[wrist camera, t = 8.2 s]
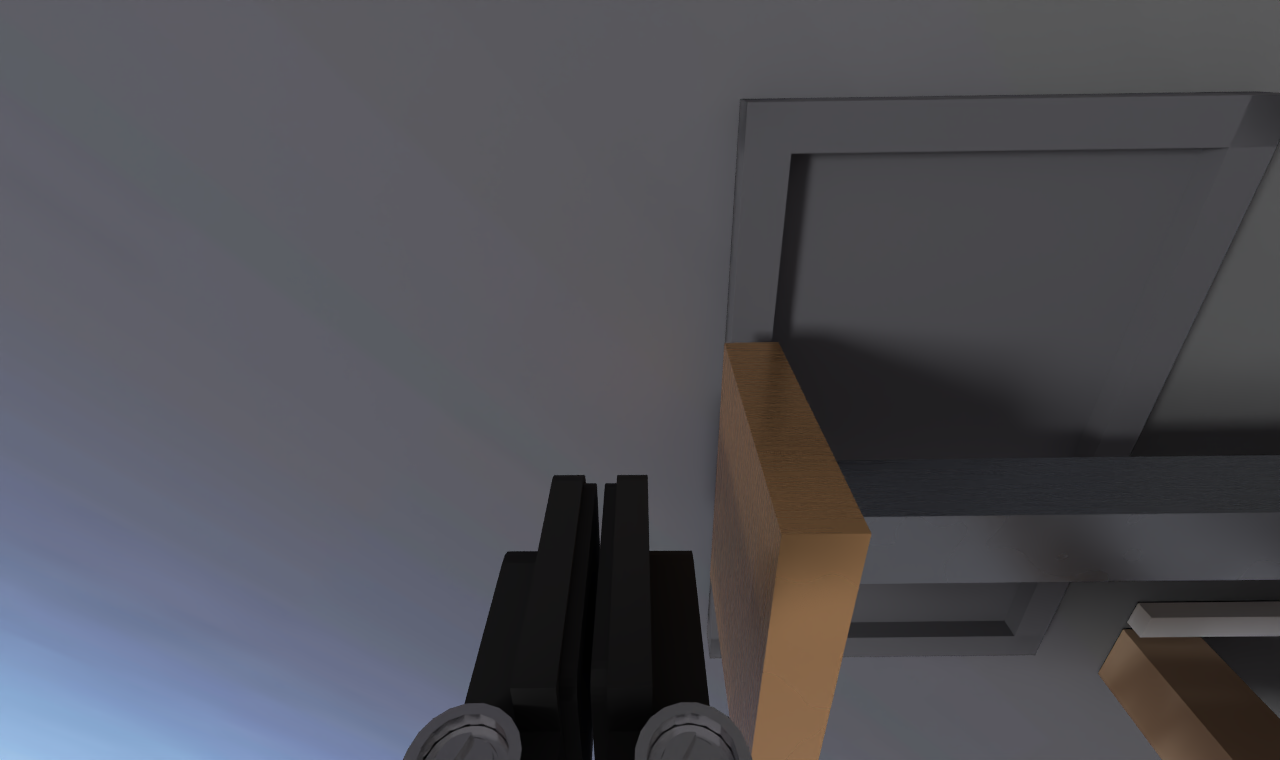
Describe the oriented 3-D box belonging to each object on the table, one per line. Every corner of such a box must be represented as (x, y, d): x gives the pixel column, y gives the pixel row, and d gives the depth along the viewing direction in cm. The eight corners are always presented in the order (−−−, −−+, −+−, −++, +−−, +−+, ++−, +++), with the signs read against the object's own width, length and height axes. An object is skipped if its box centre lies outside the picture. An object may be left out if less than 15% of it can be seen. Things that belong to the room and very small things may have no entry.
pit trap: (740, 99, 10) (747, 102, 10) (1257, 91, 10) (1302, 94, 10) (706, 633, 17) (709, 658, 16) (1018, 630, 17) (1035, 655, 16)
